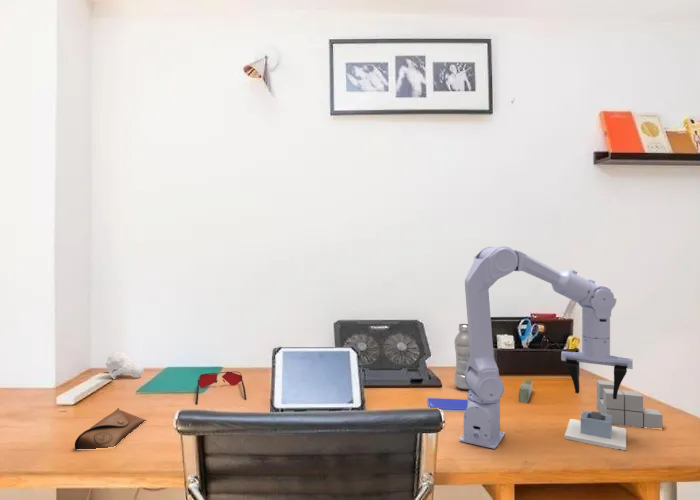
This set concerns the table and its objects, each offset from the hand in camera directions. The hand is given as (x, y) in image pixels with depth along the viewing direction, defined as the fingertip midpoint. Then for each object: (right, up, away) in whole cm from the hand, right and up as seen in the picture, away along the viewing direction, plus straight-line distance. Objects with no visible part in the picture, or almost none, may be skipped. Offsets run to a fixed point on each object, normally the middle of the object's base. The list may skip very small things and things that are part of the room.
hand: (595, 395), depth 104 cm
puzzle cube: (+14, -10, +11) cm, 20 cm away
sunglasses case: (-112, -10, 0) cm, 113 cm away
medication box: (-5, -10, +28) cm, 30 cm away
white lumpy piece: (-133, -10, +47) cm, 141 cm away
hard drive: (-29, -10, +19) cm, 37 cm away
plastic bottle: (-21, -10, +36) cm, 43 cm away
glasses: (-96, -10, +30) cm, 101 cm away
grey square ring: (0, -9, 0) cm, 9 cm away
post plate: (0, -9, 0) cm, 9 cm away
